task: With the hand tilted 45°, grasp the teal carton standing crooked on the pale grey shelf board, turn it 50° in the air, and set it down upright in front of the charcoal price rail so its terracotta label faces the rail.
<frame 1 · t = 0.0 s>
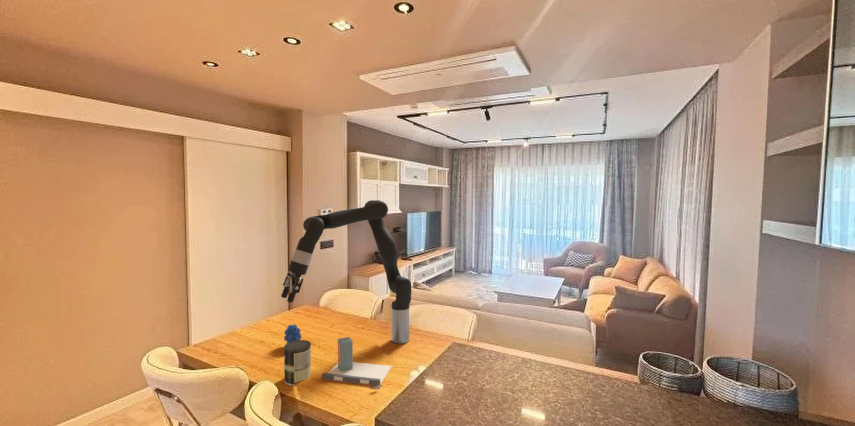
hand: (286, 299, 141), 31 cm above the table, tool tilted 20°, fingers open, 8 cm apart
shelf: (358, 375, 141), on the table
grapes: (294, 347, 169), on the table
coffee can: (297, 379, 139), on the table
carton: (345, 367, 145), point 1 cm above the table, touching shelf
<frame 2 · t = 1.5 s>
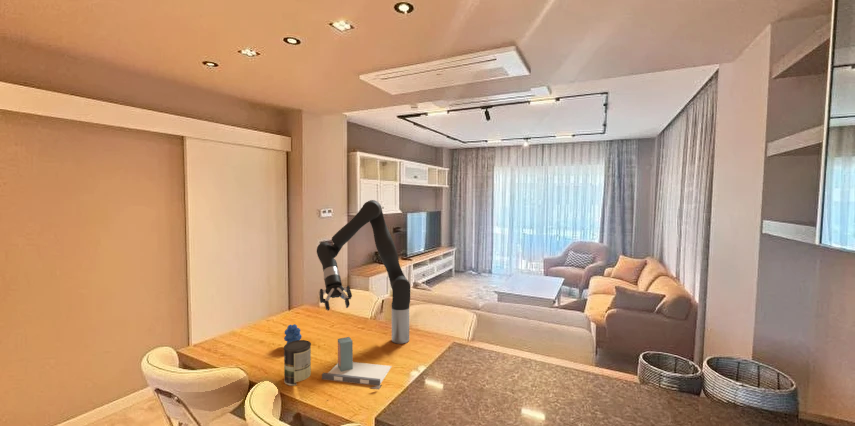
hand: (338, 308, 155), 24 cm above the table, tool tilted 45°, fingers open, 8 cm apart
nothing on the table moved.
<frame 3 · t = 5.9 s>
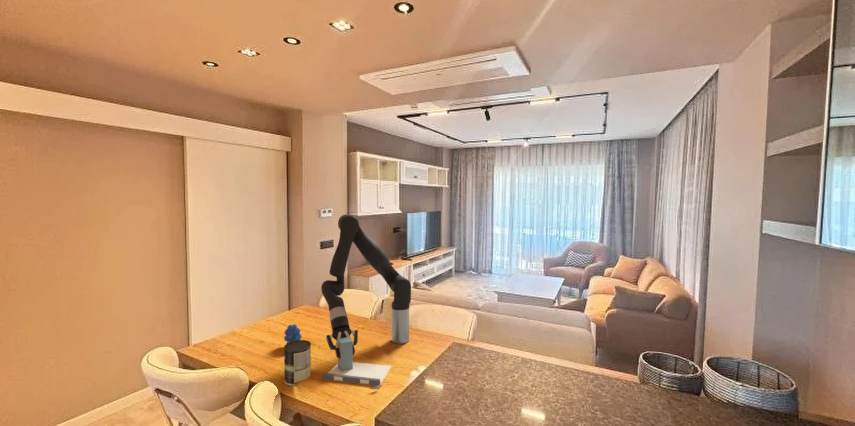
hand: (346, 356, 143), 7 cm above the table, tool tilted 45°, fingers closed on carton, 5 cm apart
carton: (345, 367, 145), point 2 cm above the table, touching gripper, shelf
everything else where it was.
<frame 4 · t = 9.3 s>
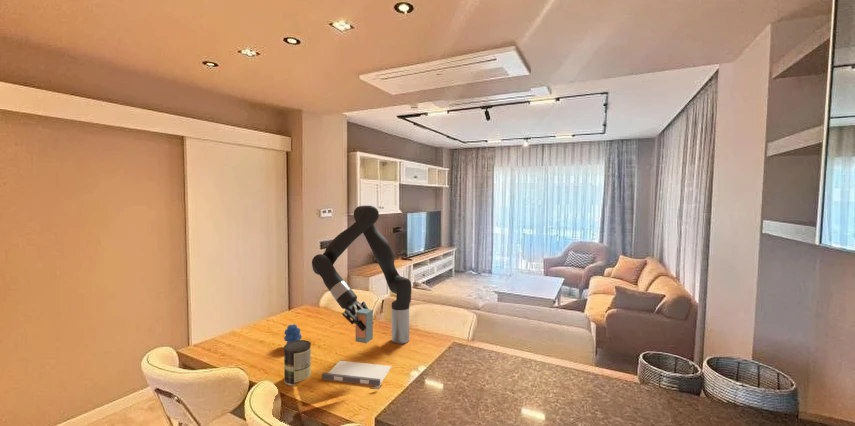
hand: (368, 327, 138), 21 cm above the table, tool tilted 45°, fingers closed on carton, 5 cm apart
carton: (364, 340, 139), point 16 cm above the table, touching gripper
everything else where it was.
when the fingers open (9 cm above the table, at t = 13.0 s): carton drops 1 cm, resting on shelf.
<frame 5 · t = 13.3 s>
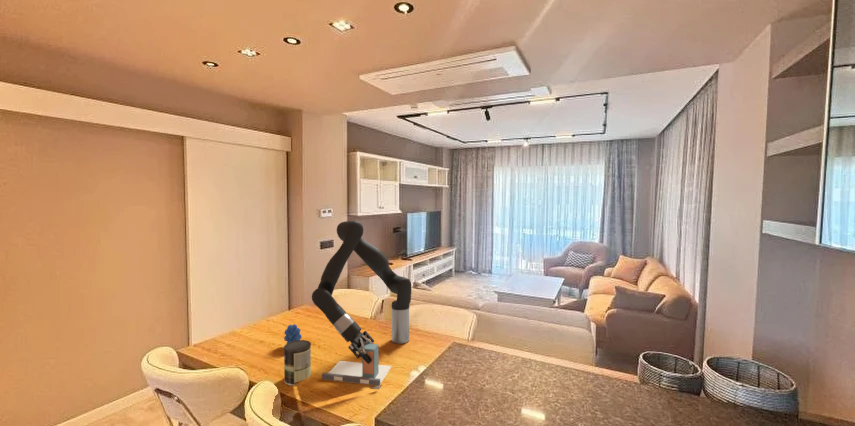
hand: (374, 357, 138), 9 cm above the table, tool tilted 45°, fingers open, 7 cm apart
carton: (370, 375, 139), point 2 cm above the table, touching shelf
everything else where it was.
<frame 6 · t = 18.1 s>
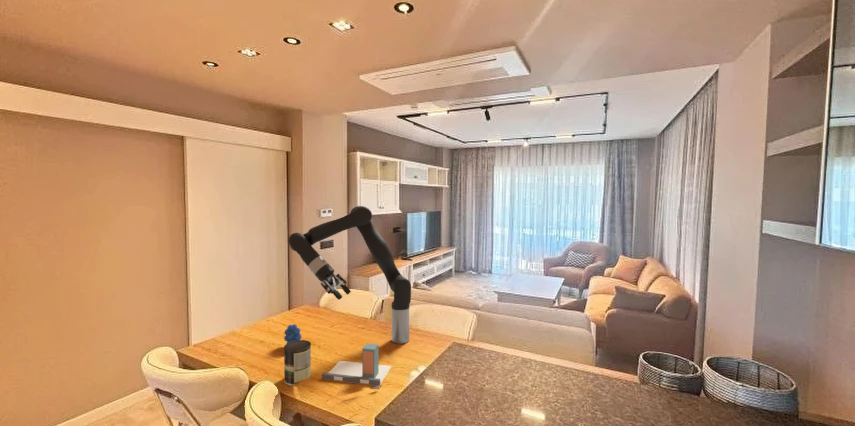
hand: (345, 295, 151), 31 cm above the table, tool tilted 45°, fingers open, 8 cm apart
nothing on the table moved.
at the end: carton inside the target area (0.1 cm from its centre), point 1.5 cm above the table; carton tilted 0°; the gripper is holding nothing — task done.
